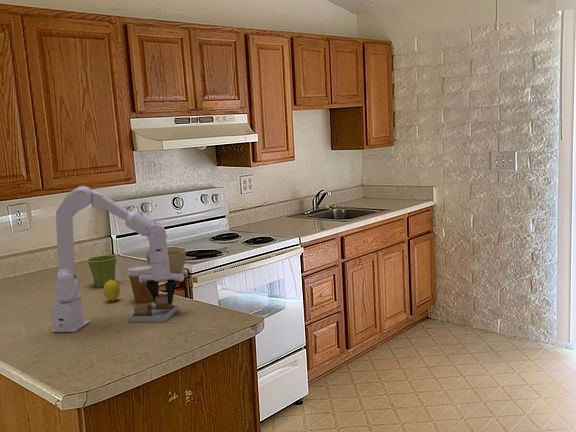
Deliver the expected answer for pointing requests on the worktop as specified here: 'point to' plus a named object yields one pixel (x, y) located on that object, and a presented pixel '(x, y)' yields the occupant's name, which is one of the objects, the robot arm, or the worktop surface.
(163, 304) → the walnut block
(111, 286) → the lemon
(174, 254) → the planter bowl
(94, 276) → the plant pot
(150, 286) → the robot arm
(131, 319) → the tray
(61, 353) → the worktop surface
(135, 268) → the disposable coffee cup
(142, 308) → the walnut block
